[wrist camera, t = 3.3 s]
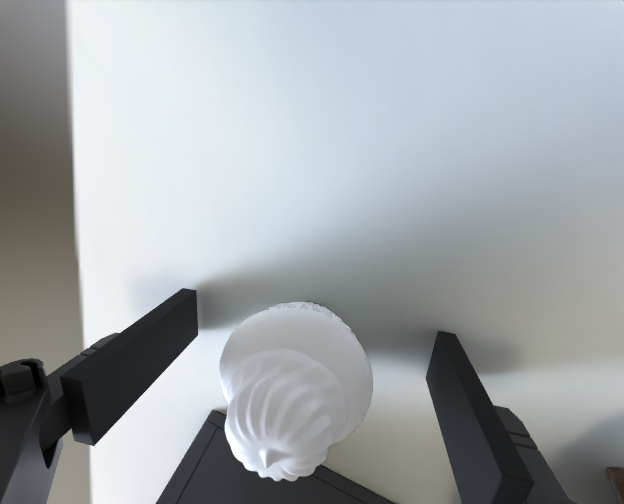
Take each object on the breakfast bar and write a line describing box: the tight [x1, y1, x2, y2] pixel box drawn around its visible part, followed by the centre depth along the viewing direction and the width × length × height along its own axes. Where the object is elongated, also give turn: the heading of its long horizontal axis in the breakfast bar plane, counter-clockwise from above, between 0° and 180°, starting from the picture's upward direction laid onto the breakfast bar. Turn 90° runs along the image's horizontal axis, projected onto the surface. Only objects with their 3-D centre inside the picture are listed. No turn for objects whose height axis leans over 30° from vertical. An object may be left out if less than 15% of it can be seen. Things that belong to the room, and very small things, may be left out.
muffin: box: [220, 302, 373, 481], centre depth 11 cm, size 6×6×7 cm
